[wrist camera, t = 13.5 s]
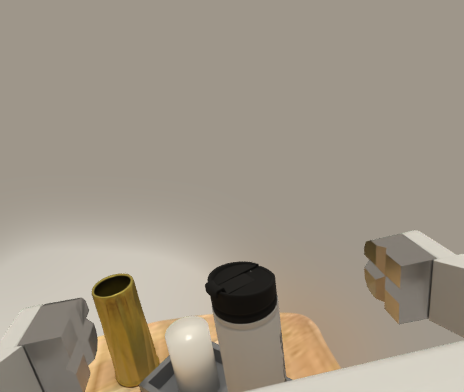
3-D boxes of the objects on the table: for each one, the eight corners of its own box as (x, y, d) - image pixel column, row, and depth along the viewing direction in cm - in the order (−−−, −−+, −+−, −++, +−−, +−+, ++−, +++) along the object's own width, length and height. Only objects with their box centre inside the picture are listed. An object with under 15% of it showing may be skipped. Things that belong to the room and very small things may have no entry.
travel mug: (221, 424, 39) (190, 274, 32) (265, 389, 42) (245, 247, 35) (257, 470, 34) (230, 305, 27) (303, 426, 37) (289, 269, 30)
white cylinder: (171, 393, 43) (155, 337, 40) (198, 364, 47) (186, 311, 44) (201, 412, 40) (187, 354, 37) (227, 380, 44) (217, 324, 41)
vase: (122, 396, 45) (91, 307, 40) (111, 365, 50) (83, 283, 45) (165, 372, 47) (142, 285, 42) (151, 345, 52) (129, 266, 48)
